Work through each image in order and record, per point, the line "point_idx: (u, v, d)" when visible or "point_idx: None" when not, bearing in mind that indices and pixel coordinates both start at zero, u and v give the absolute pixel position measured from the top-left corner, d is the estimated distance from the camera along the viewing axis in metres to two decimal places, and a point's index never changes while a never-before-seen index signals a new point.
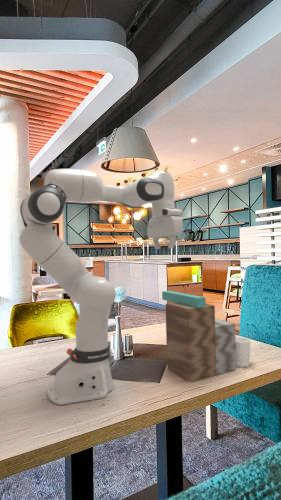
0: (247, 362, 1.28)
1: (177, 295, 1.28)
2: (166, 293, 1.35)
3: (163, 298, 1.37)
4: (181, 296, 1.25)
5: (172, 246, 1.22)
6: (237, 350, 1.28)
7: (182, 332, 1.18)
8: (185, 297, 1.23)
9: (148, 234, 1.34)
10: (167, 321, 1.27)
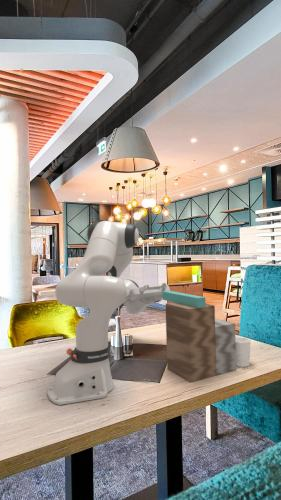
0: (247, 362, 1.28)
1: (177, 295, 1.28)
2: (166, 293, 1.35)
3: (163, 298, 1.37)
4: (181, 296, 1.25)
5: None
6: (237, 350, 1.28)
7: (182, 332, 1.18)
8: (185, 297, 1.23)
9: None
10: (167, 321, 1.27)
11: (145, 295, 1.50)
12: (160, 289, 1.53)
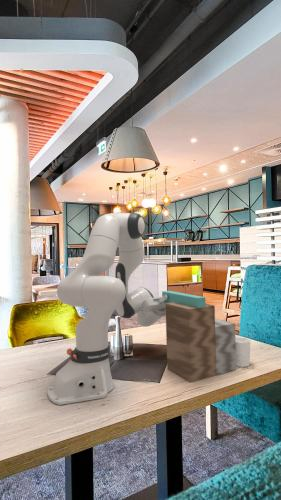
0: (247, 362, 1.28)
1: (177, 295, 1.28)
2: (166, 293, 1.35)
3: None
4: (181, 296, 1.25)
5: None
6: (237, 350, 1.28)
7: (182, 332, 1.18)
8: (185, 297, 1.23)
9: None
10: (167, 321, 1.27)
11: (160, 306, 1.37)
12: None
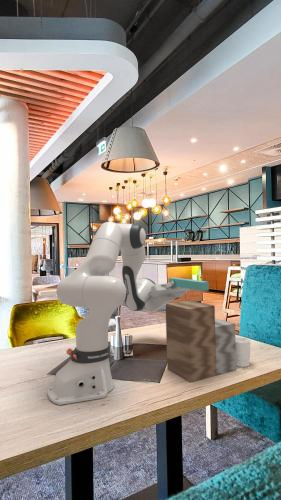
0: (247, 362, 1.28)
1: (183, 280, 1.41)
2: (172, 279, 1.48)
3: None
4: (186, 281, 1.39)
5: None
6: (237, 350, 1.28)
7: (182, 332, 1.18)
8: (190, 282, 1.37)
9: None
10: (167, 321, 1.27)
11: (166, 291, 1.51)
12: None
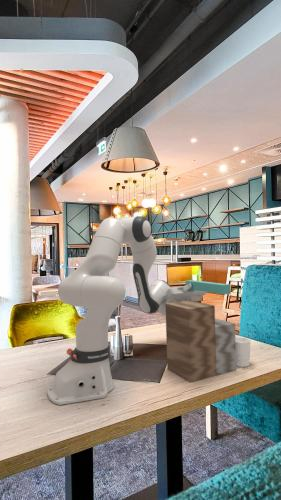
0: (247, 362, 1.28)
1: (201, 283, 1.33)
2: (190, 282, 1.40)
3: None
4: (206, 284, 1.31)
5: None
6: (237, 350, 1.28)
7: (182, 332, 1.18)
8: (210, 285, 1.28)
9: None
10: (167, 321, 1.27)
11: (183, 295, 1.42)
12: None
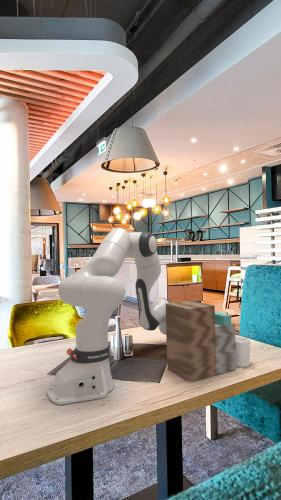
0: (247, 362, 1.28)
1: None
2: None
3: None
4: None
5: None
6: (237, 350, 1.28)
7: (182, 332, 1.18)
8: None
9: None
10: (167, 321, 1.27)
11: None
12: None
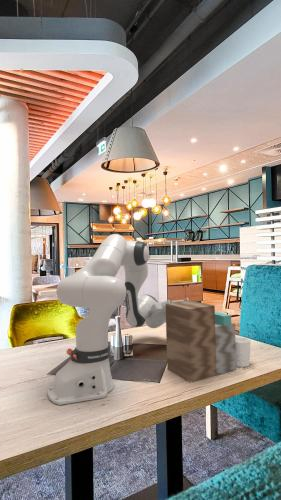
0: (247, 362, 1.28)
1: None
2: None
3: None
4: None
5: None
6: (237, 350, 1.28)
7: (182, 332, 1.18)
8: None
9: None
10: (167, 321, 1.27)
11: None
12: None
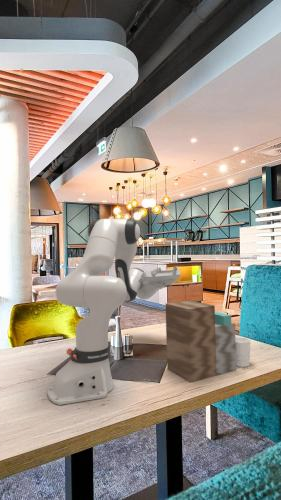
0: (247, 362, 1.28)
1: None
2: None
3: None
4: None
5: None
6: (237, 350, 1.28)
7: (182, 332, 1.18)
8: None
9: None
10: (167, 321, 1.27)
11: (157, 278, 1.54)
12: (171, 273, 1.57)
